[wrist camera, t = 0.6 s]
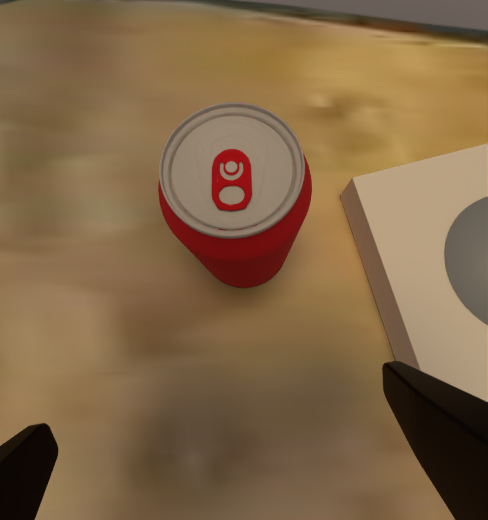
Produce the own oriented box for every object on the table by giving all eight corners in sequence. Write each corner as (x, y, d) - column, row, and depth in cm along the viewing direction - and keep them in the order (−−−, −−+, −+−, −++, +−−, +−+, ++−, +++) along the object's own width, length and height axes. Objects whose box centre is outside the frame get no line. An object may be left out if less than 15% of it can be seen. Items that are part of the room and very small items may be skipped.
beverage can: (284, 206, 23) (316, 84, 11) (288, 287, 22) (328, 248, 10) (202, 208, 23) (147, 91, 11) (202, 289, 22) (139, 253, 10)
